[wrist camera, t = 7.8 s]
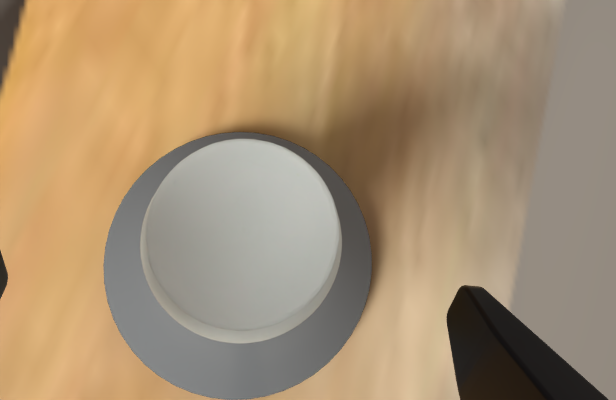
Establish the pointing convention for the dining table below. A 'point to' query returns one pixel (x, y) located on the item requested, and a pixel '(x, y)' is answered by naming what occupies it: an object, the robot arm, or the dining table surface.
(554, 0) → the dining table surface
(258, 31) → the dining table surface
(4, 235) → the dining table surface
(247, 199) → the supplement bottle
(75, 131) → the dining table surface
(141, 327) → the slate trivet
